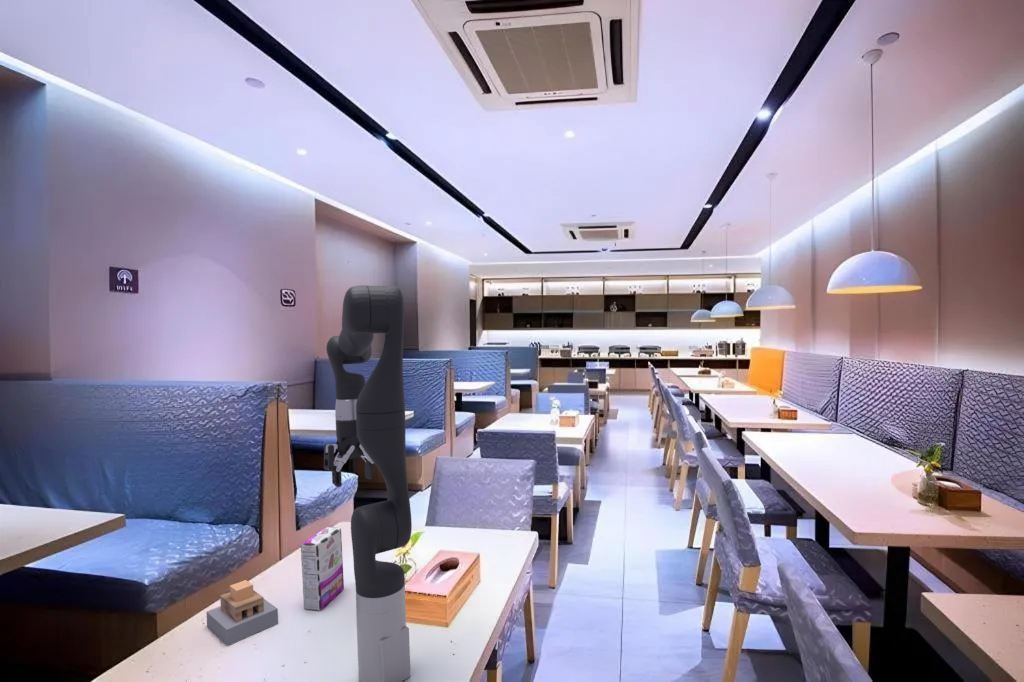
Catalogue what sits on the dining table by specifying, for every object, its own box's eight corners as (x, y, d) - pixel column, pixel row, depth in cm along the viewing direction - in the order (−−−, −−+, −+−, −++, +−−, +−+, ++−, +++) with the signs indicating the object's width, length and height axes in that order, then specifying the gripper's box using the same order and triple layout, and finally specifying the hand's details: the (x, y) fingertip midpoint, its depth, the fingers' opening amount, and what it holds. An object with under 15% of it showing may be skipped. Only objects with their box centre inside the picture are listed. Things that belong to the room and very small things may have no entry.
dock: (278, 623, 120) (277, 608, 120) (227, 645, 112) (226, 629, 112) (256, 607, 128) (255, 592, 128) (207, 626, 120) (206, 611, 120)
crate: (253, 596, 120) (253, 584, 120) (237, 602, 117) (236, 590, 117) (246, 590, 122) (245, 579, 122) (230, 596, 120) (229, 585, 120)
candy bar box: (327, 588, 137) (325, 526, 137) (344, 589, 136) (342, 526, 136) (301, 610, 126) (299, 542, 126) (320, 611, 125) (318, 543, 125)
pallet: (264, 611, 119) (263, 597, 119) (236, 622, 114) (235, 608, 114) (247, 598, 125) (247, 585, 125) (220, 609, 120) (220, 595, 120)
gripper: (333, 422, 120) (335, 492, 120) (385, 413, 130) (387, 478, 130) (316, 419, 125) (318, 486, 125) (368, 411, 135) (370, 473, 135)
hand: (353, 482), depth 128 cm, fingers open, 8 cm apart
